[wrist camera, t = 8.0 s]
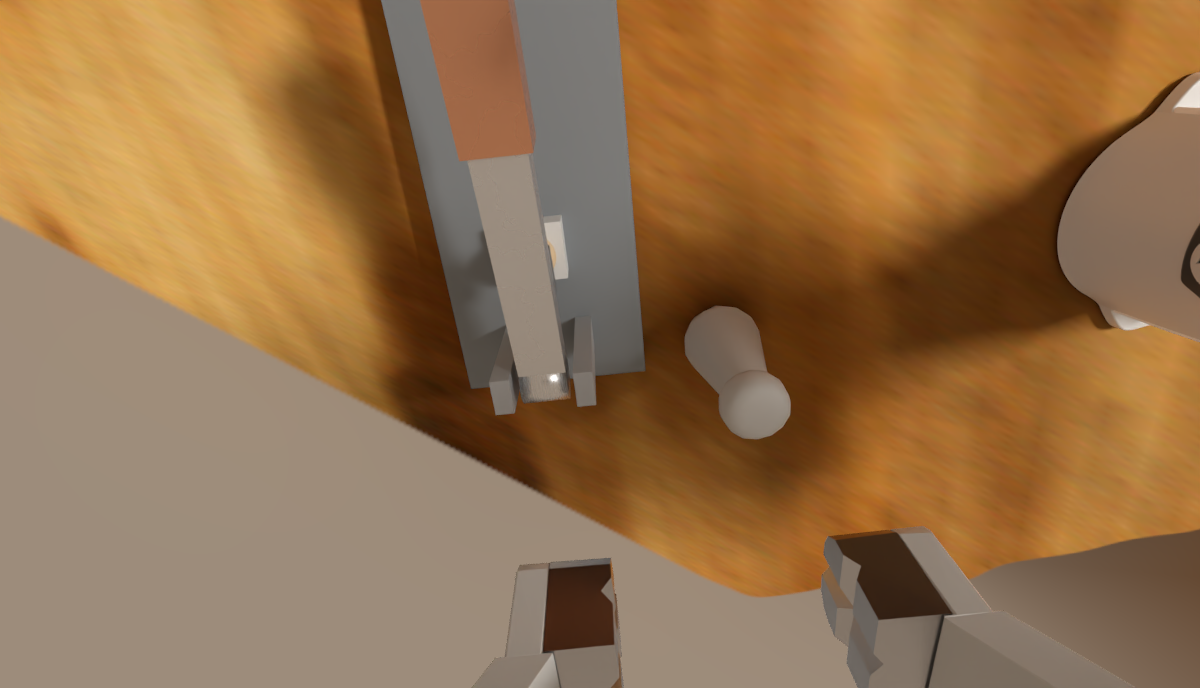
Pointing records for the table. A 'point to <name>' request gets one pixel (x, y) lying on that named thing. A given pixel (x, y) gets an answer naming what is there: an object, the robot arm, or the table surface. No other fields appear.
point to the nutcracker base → (566, 188)
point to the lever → (503, 176)
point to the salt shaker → (737, 371)
